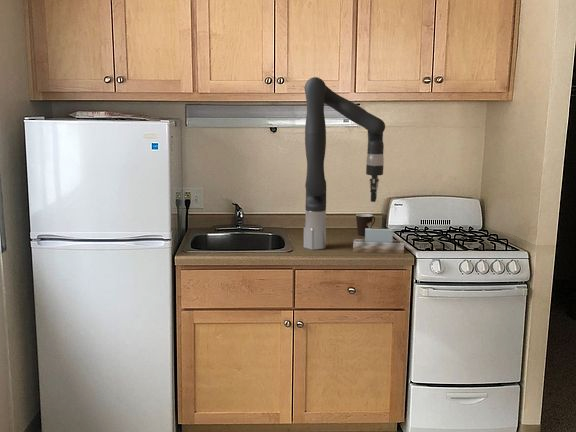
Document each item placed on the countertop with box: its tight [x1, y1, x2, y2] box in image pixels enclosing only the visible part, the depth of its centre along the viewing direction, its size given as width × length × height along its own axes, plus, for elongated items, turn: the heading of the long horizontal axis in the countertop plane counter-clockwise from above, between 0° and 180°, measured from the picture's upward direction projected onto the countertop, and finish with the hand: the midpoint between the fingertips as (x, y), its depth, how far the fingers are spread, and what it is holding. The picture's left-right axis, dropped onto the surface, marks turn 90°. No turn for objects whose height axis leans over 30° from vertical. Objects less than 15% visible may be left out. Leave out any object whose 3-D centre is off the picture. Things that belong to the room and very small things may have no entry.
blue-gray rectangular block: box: [364, 228, 394, 243], centre depth 255 cm, size 12×4×8 cm, turn 80°
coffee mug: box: [355, 213, 376, 237], centre depth 290 cm, size 12×9×10 cm
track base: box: [352, 238, 405, 254], centre depth 255 cm, size 22×9×4 cm, turn 80°
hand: (373, 200), depth 257 cm, fingers open, 8 cm apart
